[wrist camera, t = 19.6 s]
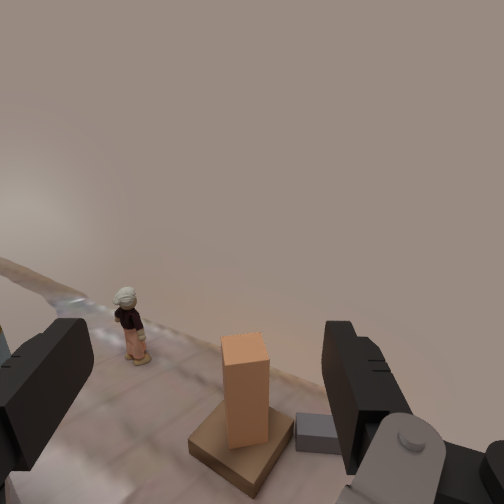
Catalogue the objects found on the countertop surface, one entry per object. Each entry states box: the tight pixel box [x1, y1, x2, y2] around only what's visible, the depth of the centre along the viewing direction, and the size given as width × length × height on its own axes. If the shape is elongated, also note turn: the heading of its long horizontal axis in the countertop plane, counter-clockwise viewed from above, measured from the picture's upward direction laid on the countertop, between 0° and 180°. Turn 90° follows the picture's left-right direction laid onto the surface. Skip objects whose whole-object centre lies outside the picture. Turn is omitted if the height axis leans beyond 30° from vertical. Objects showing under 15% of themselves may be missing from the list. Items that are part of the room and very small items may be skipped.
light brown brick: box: [221, 332, 270, 449], centre depth 37 cm, size 4×4×12 cm
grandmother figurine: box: [113, 287, 151, 366], centre depth 52 cm, size 8×4×13 cm, turn 61°
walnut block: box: [188, 400, 294, 499], centre depth 40 cm, size 9×9×3 cm
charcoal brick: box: [295, 413, 342, 455], centre depth 40 cm, size 3×6×3 cm, turn 85°
